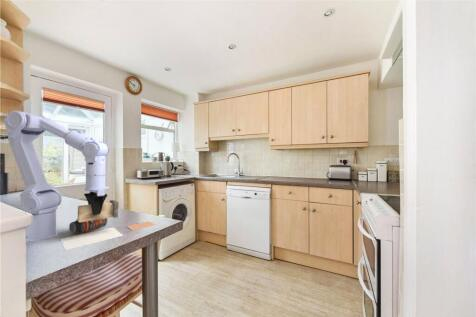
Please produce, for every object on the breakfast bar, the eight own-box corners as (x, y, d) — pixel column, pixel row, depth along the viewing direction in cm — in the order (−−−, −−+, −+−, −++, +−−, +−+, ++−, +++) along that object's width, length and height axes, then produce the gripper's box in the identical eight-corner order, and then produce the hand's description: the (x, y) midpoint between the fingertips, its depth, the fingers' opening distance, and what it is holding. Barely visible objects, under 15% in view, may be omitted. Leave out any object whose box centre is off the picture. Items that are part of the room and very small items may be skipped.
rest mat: (65, 251, 62) (65, 249, 62) (60, 240, 70) (60, 238, 70) (123, 236, 73) (123, 235, 73) (113, 228, 81) (113, 227, 81)
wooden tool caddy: (80, 223, 67) (80, 206, 67) (76, 219, 71) (77, 203, 71) (117, 217, 75) (118, 202, 75) (112, 214, 80) (113, 199, 80)
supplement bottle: (108, 227, 83) (77, 237, 72) (98, 224, 85) (67, 234, 75) (108, 212, 83) (77, 221, 72) (98, 210, 85) (67, 218, 75)
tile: (132, 229, 78) (155, 224, 85) (126, 226, 82) (149, 221, 89) (132, 233, 78) (155, 227, 85) (126, 229, 82) (149, 224, 89)
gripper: (114, 176, 71) (114, 215, 71) (103, 173, 81) (102, 207, 81) (90, 177, 66) (89, 219, 66) (80, 174, 76) (80, 211, 76)
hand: (95, 213), depth 73 cm, fingers closed on wooden tool caddy, 3 cm apart
